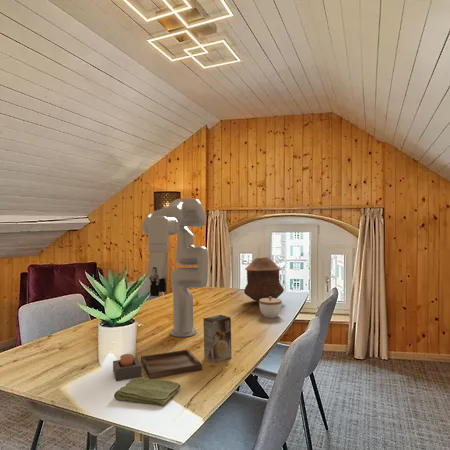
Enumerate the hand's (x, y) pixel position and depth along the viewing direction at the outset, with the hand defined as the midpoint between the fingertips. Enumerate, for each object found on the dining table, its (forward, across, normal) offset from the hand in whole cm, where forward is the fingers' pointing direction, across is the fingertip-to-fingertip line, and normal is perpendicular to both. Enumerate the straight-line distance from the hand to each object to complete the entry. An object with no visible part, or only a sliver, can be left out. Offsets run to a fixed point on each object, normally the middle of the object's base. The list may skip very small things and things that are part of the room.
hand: (158, 293), depth 141 cm
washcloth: (+28, +23, +3) cm, 37 cm away
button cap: (+24, +9, -9) cm, 27 cm away
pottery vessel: (+22, -106, +40) cm, 115 cm away
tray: (+27, +1, +5) cm, 27 cm away
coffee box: (+26, -8, +22) cm, 35 cm away
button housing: (+27, +9, -9) cm, 30 cm away
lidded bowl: (+24, -74, +44) cm, 89 cm away
